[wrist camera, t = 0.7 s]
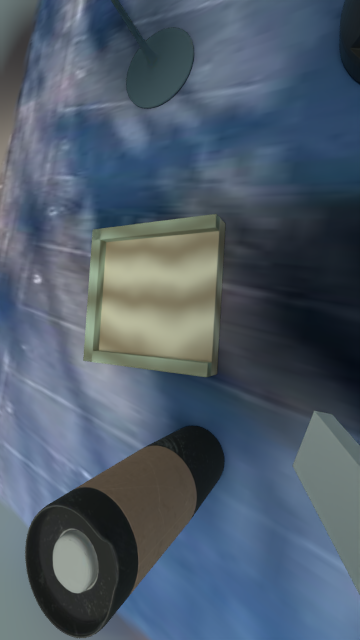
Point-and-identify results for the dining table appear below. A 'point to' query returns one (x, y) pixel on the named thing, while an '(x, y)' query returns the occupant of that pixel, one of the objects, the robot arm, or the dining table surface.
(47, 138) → the dining table surface
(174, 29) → the cocktail glass
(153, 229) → the tray
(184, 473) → the travel mug
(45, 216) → the dining table surface
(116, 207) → the dining table surface
